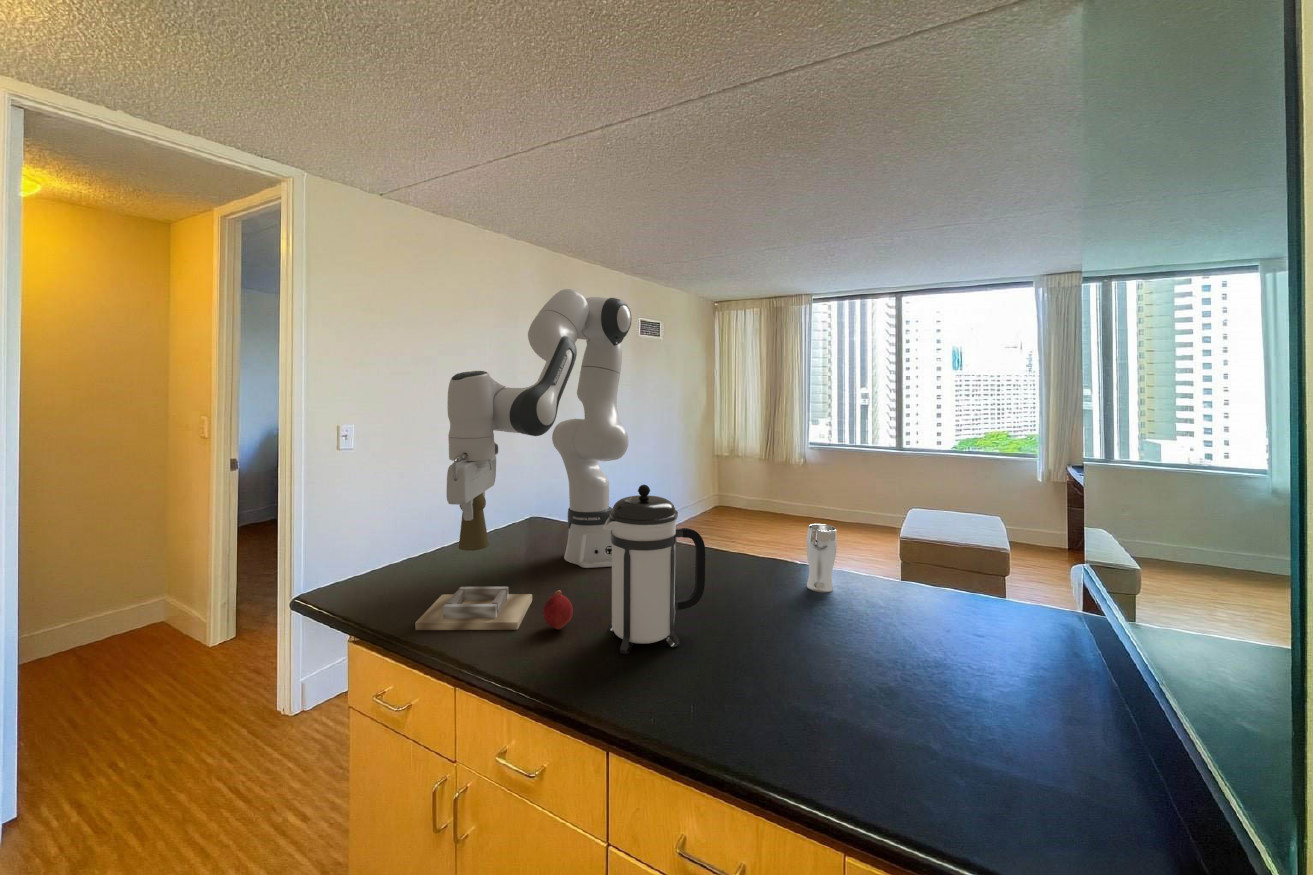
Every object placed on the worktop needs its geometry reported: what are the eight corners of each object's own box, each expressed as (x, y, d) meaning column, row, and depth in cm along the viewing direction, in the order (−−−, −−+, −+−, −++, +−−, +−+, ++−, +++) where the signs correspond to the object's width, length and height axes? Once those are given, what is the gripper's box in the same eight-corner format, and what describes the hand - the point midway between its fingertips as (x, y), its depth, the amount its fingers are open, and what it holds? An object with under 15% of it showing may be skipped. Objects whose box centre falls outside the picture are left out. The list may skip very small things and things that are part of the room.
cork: (493, 542, 111) (492, 491, 110) (481, 551, 105) (479, 497, 104) (467, 541, 112) (465, 490, 111) (452, 549, 106) (451, 496, 105)
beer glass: (803, 590, 124) (805, 529, 123) (806, 580, 131) (808, 522, 129) (833, 595, 122) (836, 532, 120) (835, 584, 128) (838, 525, 127)
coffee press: (660, 668, 89) (662, 497, 86) (588, 643, 98) (587, 486, 95) (705, 629, 104) (708, 481, 101) (639, 610, 112) (640, 473, 109)
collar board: (532, 600, 117) (531, 583, 117) (517, 629, 103) (517, 610, 103) (442, 600, 116) (441, 583, 116) (415, 630, 102) (414, 610, 102)
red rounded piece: (547, 638, 99) (547, 598, 99) (539, 626, 104) (539, 588, 104) (576, 632, 102) (576, 593, 101) (567, 620, 107) (567, 583, 106)
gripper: (470, 457, 96) (472, 530, 98) (500, 444, 117) (501, 505, 118) (436, 457, 96) (438, 530, 98) (472, 444, 116) (474, 505, 118)
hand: (473, 516), depth 108 cm, fingers closed on cork, 4 cm apart
